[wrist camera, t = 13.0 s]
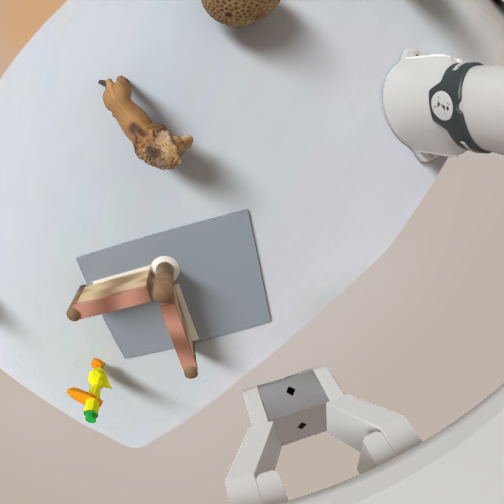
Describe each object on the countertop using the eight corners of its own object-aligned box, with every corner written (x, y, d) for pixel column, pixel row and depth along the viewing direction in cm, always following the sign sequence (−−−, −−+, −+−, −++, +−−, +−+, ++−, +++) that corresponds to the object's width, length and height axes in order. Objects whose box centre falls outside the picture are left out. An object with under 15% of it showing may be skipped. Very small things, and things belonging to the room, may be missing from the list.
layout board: (247, 209, 40) (248, 210, 39) (270, 320, 47) (271, 321, 47) (77, 257, 37) (76, 258, 37) (125, 357, 44) (125, 359, 44)
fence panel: (161, 284, 40) (159, 310, 35) (175, 281, 41) (175, 307, 35) (184, 350, 45) (186, 379, 40) (195, 348, 46) (199, 377, 40)
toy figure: (76, 361, 43) (60, 414, 32) (81, 347, 42) (64, 402, 31) (112, 376, 46) (103, 431, 35) (118, 363, 45) (110, 420, 34)
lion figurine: (197, 142, 35) (201, 145, 27) (167, 174, 36) (162, 186, 28) (114, 66, 29) (95, 49, 21) (84, 99, 30) (58, 92, 22)
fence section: (170, 258, 40) (169, 283, 34) (176, 273, 41) (175, 300, 35) (76, 284, 38) (61, 311, 32) (83, 299, 39) (70, 326, 33)
